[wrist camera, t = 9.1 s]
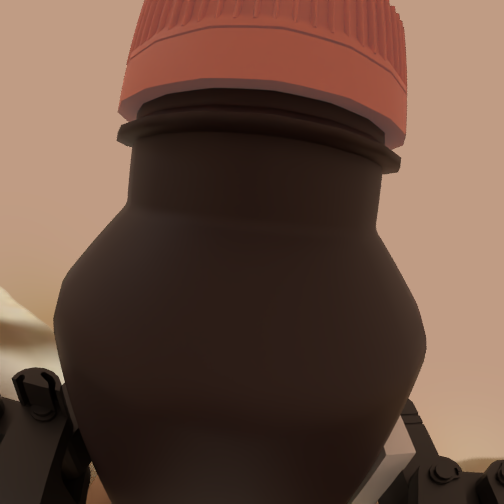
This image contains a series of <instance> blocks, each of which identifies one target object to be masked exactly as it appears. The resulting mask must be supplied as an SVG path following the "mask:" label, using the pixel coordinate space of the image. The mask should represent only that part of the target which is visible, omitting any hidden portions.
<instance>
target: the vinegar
mask: <svg viewBox="0 0 504 504" xmlns="http://www.w3.org/2000/svg"><path fill="white" fill-rule="evenodd" d="M118 113H119V114H121V115H122V116H123V117H124V118H125V119H126V120H127V121H129V122H128V123H126V124H123V125H121V127H120V129H119V131H118V135H117V141H118V142H120V143H122V144H124V145H126V146H130V147H132V155H131V164H130V176H129V187H128V199H127V203H126V205H125V206H124V208H123V209H122V210H121V211H120V212H119V213H118V214H117V215H116V216H115V218H114V219H113V220H112V221H111V222H110V223H109V224H108V225H107V226H106V228H105V229H104V230H103V231H102V232H101V233H100V234H99V235H98V237H97V238H96V239H95V240H94V241H93V243H92V244H91V245H90V246H89V247H88V248H87V250H86V251H85V252H84V253H83V254H82V255H81V257H80V258H79V259H78V260H77V262H76V263H75V264H74V265H73V266H72V268H71V269H70V270H69V272H68V273H67V275H66V277H65V278H64V280H63V282H62V286H61V289H60V293H59V297H58V301H57V305H56V309H55V314H54V318H53V319H54V320H53V321H54V335H55V340H56V345H57V350H58V355H59V359H60V364H61V368H62V372H63V376H64V380H65V384H66V388H67V391H68V395H69V398H70V402H71V405H72V408H73V411H74V415H75V418H76V421H77V424H78V427H79V429H80V432H81V435H82V438H83V440H84V443H85V446H86V448H87V451H88V453H89V456H90V458H91V461H92V463H93V465H94V468H95V470H96V472H97V474H98V476H99V479H100V481H101V483H102V485H103V487H104V489H105V491H106V493H107V495H108V497H109V499H110V501H111V503H112V504H347V503H348V502H349V500H350V499H351V497H352V496H353V495H354V493H355V492H356V490H357V489H358V487H359V486H360V484H361V483H362V481H363V480H364V478H365V477H366V475H367V474H368V472H369V470H370V469H371V467H372V466H373V464H374V462H375V461H376V459H377V457H378V456H379V454H380V452H381V450H382V449H383V447H384V445H385V443H386V441H387V440H388V438H389V436H390V434H391V432H392V430H393V428H394V426H395V424H396V423H397V421H398V419H399V417H400V414H401V412H402V410H403V408H404V406H405V404H406V402H407V400H408V397H409V395H410V393H411V391H412V388H413V386H414V384H415V381H416V379H417V377H418V374H419V372H420V369H421V367H422V364H423V362H424V358H425V353H426V335H425V331H424V327H423V323H422V319H421V315H420V312H419V309H418V306H417V304H416V301H415V299H414V297H413V296H412V294H411V292H410V290H409V288H408V286H407V284H406V282H405V280H404V279H403V277H402V275H401V273H400V271H399V269H398V268H397V266H396V264H395V262H394V261H393V259H392V257H391V255H390V254H389V252H388V250H387V248H386V247H385V245H384V243H383V242H382V240H381V238H380V237H379V235H378V233H377V231H376V219H377V212H378V204H379V196H380V189H381V180H382V174H389V173H396V172H398V171H399V168H400V163H401V157H399V156H398V155H397V154H395V153H394V152H393V151H392V149H394V148H397V147H400V146H402V145H403V144H404V140H405V136H406V119H407V117H406V116H407V66H406V47H405V35H404V27H403V23H402V21H401V20H400V16H399V14H398V13H396V12H395V6H390V4H389V0H145V1H144V4H143V6H142V9H141V13H140V16H139V19H138V22H137V26H136V29H135V33H134V37H133V40H132V44H131V48H130V52H129V56H128V60H127V68H126V72H125V76H124V82H123V86H122V91H121V97H120V103H119V108H118Z"/></svg>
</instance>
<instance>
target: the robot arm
mask: <svg viewBox="0 0 504 504" xmlns="http://www.w3.org/2000/svg"><path fill="white" fill-rule="evenodd" d="M12 381H13V384H14V387H15V390H16V392H17V395H18V398H19V401H20V402H18V401H15V400H11V399H8V398H4V397H1V395H0V504H86V500H87V494H88V488H89V483H90V478H91V474H90V468H89V464H90V463H91V458H90V456H89V453H88V451H87V448H86V446H85V443H84V440H83V438H82V435H81V432H80V429H79V427H78V424H77V421H76V418H75V415H74V411H73V408H72V405H71V402H70V398H69V395H68V391H67V388H66V384H65V383H64V384H63V385H61V382H60V379H59V377H58V376H57V375H56V374H55V373H54V372H52V371H50V370H47V369H45V368H36V367H34V368H28V369H24V370H22V371H20V372H18V373H17V374H16V375H14V376H13V377H12ZM422 423H423V422H422V420H421V418H420V416H419V415H418V412H417V410H416V408H415V406H414V404H413V402H412V401H411V400H409V399H408V400H407V402H406V404H405V406H404V408H403V410H402V412H401V414H400V417H399V419H398V421H397V423H396V424H395V426H394V428H393V430H392V432H391V434H390V436H389V438H388V440H387V441H386V443H385V445H384V447H383V449H382V450H381V452H380V454H379V456H378V457H377V459H376V461H375V462H374V464H373V466H372V467H371V469H370V470H369V472H368V474H367V475H366V477H365V478H364V480H363V481H362V483H361V484H360V486H359V487H358V489H357V490H356V492H355V493H354V495H353V496H352V497H351V499H350V500H349V502H348V503H347V504H376V503H377V502H378V503H379V504H504V460H497V461H495V462H493V463H492V464H491V465H490V466H489V467H488V468H487V470H486V471H485V472H484V473H474V472H462V470H461V468H460V466H459V465H458V464H457V463H456V462H455V461H453V460H451V459H449V458H447V457H442V456H439V455H438V453H437V451H436V448H435V446H434V444H433V442H432V440H431V438H430V436H429V434H428V432H427V430H426V428H425V426H424V424H422Z"/></svg>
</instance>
